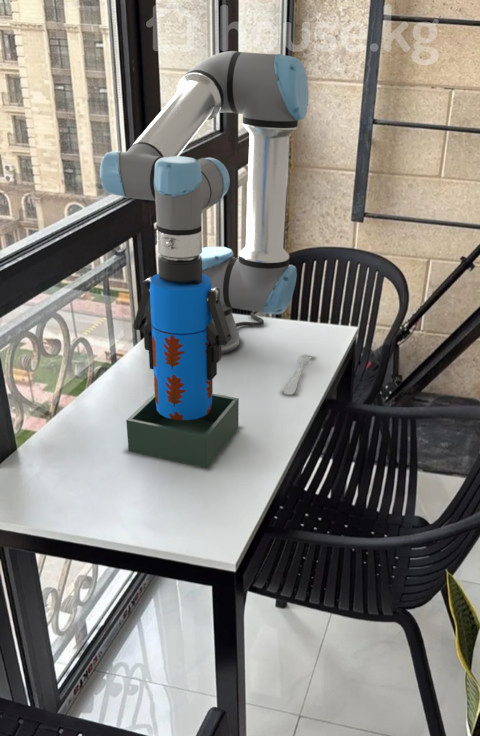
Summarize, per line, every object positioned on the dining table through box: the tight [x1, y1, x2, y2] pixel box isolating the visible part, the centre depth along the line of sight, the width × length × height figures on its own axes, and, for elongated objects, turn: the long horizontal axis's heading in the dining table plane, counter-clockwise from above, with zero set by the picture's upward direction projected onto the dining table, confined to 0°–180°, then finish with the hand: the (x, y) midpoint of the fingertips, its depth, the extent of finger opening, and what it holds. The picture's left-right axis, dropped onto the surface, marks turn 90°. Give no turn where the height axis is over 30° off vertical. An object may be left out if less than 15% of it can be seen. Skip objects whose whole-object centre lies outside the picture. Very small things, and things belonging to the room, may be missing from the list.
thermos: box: [150, 273, 214, 420], centre depth 137 cm, size 11×11×25 cm
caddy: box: [125, 392, 240, 469], centre depth 146 cm, size 16×16×7 cm
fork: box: [283, 355, 313, 396], centre depth 175 cm, size 3×21×3 cm, turn 166°
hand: (183, 371), depth 140 cm, fingers closed on thermos, 11 cm apart
